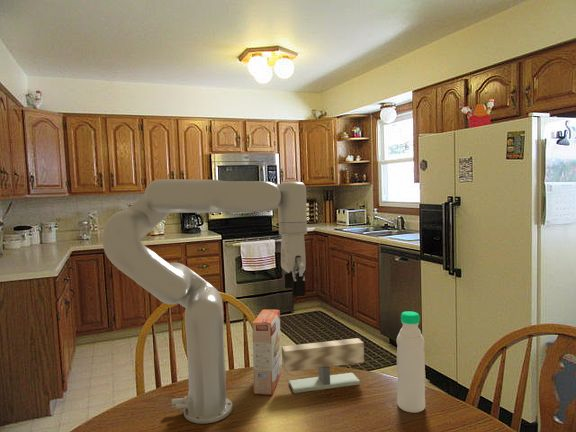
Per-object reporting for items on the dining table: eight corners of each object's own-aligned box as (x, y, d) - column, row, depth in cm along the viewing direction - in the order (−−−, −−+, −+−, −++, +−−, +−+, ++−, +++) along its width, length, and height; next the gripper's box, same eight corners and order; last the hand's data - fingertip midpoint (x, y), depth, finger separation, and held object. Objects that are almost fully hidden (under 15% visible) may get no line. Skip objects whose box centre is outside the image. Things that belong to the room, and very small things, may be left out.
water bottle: (429, 413, 105) (428, 316, 104) (401, 414, 105) (399, 317, 104) (420, 399, 112) (419, 308, 111) (394, 400, 112) (393, 309, 111)
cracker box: (274, 396, 117) (271, 323, 115) (253, 395, 118) (250, 322, 116) (282, 374, 130) (280, 308, 129) (263, 373, 131) (261, 308, 130)
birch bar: (285, 372, 118) (284, 351, 118) (282, 366, 122) (281, 346, 122) (364, 362, 123) (363, 342, 123) (358, 357, 127) (358, 338, 127)
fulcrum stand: (293, 393, 118) (293, 372, 118) (289, 383, 124) (288, 364, 123) (359, 384, 122) (359, 364, 122) (352, 375, 128) (352, 356, 128)
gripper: (273, 226, 118) (275, 285, 119) (286, 232, 102) (287, 300, 103) (298, 225, 120) (300, 284, 121) (315, 230, 103) (317, 298, 104)
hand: (294, 291), depth 112 cm, fingers open, 9 cm apart
